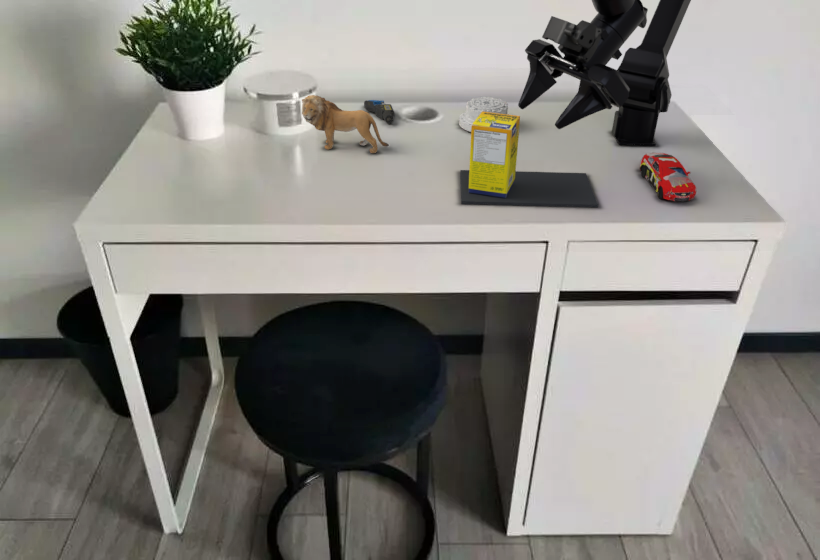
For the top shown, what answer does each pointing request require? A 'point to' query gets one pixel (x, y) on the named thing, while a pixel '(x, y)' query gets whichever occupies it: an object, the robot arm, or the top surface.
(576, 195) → the desk pad
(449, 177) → the top surface
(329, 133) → the lion figurine
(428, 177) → the top surface
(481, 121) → the supplement box
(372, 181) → the top surface
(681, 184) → the race car
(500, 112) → the mechanical component
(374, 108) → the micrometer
